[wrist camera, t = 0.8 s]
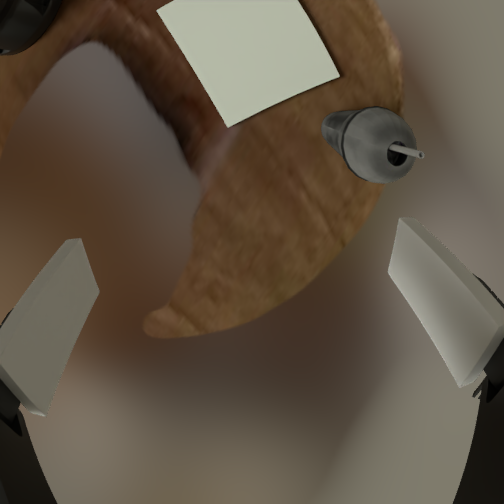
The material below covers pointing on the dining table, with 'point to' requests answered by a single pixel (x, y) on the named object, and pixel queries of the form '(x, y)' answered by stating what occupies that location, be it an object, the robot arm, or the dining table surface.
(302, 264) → the dining table surface
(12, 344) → the robot arm
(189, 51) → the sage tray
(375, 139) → the beverage cup
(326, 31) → the dining table surface
